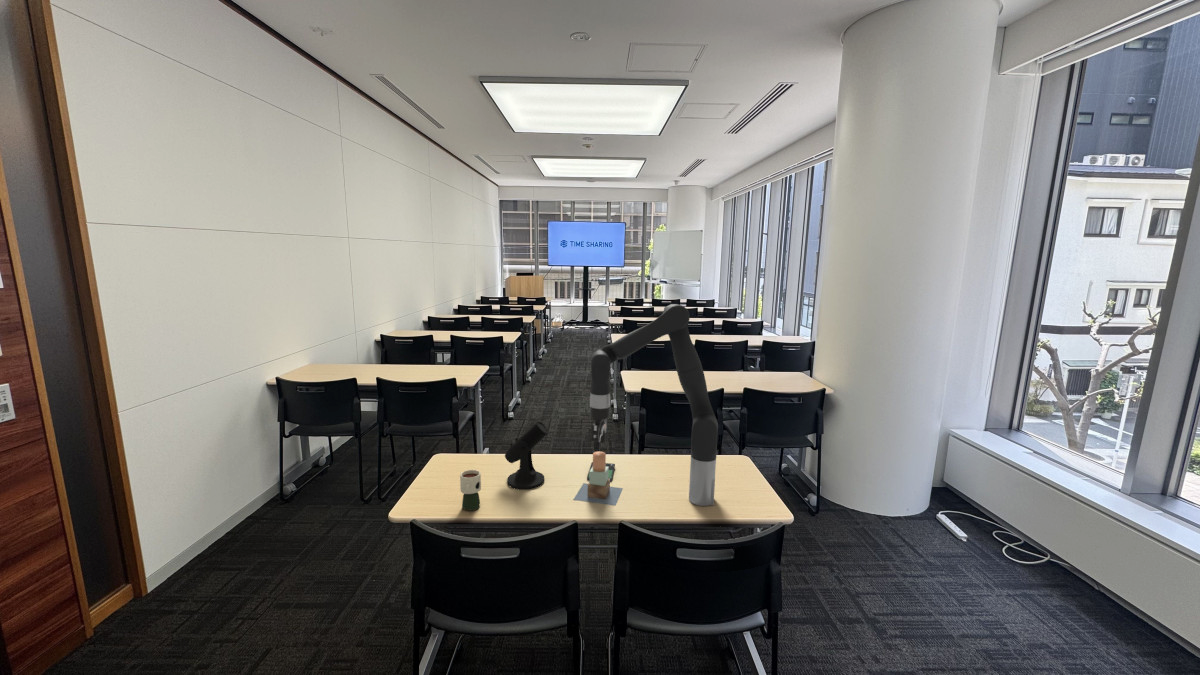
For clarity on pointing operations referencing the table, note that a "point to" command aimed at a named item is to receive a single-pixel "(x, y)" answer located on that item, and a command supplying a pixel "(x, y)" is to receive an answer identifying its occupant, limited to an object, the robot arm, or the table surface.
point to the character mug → (470, 489)
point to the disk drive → (611, 470)
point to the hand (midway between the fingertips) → (599, 446)
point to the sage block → (598, 477)
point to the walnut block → (599, 490)
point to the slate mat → (610, 499)
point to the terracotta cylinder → (599, 461)
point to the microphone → (526, 458)
